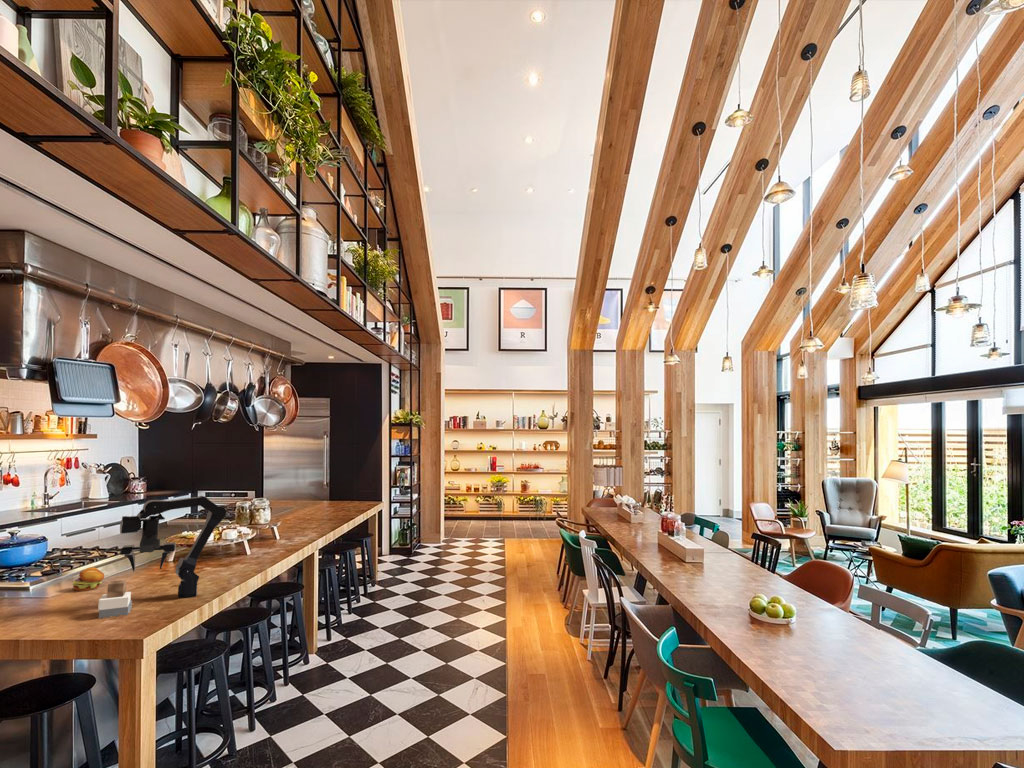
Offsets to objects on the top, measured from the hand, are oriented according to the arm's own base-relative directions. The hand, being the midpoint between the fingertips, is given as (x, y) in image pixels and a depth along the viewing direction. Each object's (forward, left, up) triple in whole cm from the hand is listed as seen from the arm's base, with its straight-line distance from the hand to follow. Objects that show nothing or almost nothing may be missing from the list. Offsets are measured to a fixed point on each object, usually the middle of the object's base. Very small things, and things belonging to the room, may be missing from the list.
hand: (147, 569), depth 225 cm
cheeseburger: (+26, -34, -13) cm, 45 cm away
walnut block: (+8, +11, -6) cm, 15 cm away
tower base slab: (+8, +12, -13) cm, 19 cm away
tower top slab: (+8, +12, -10) cm, 18 cm away
